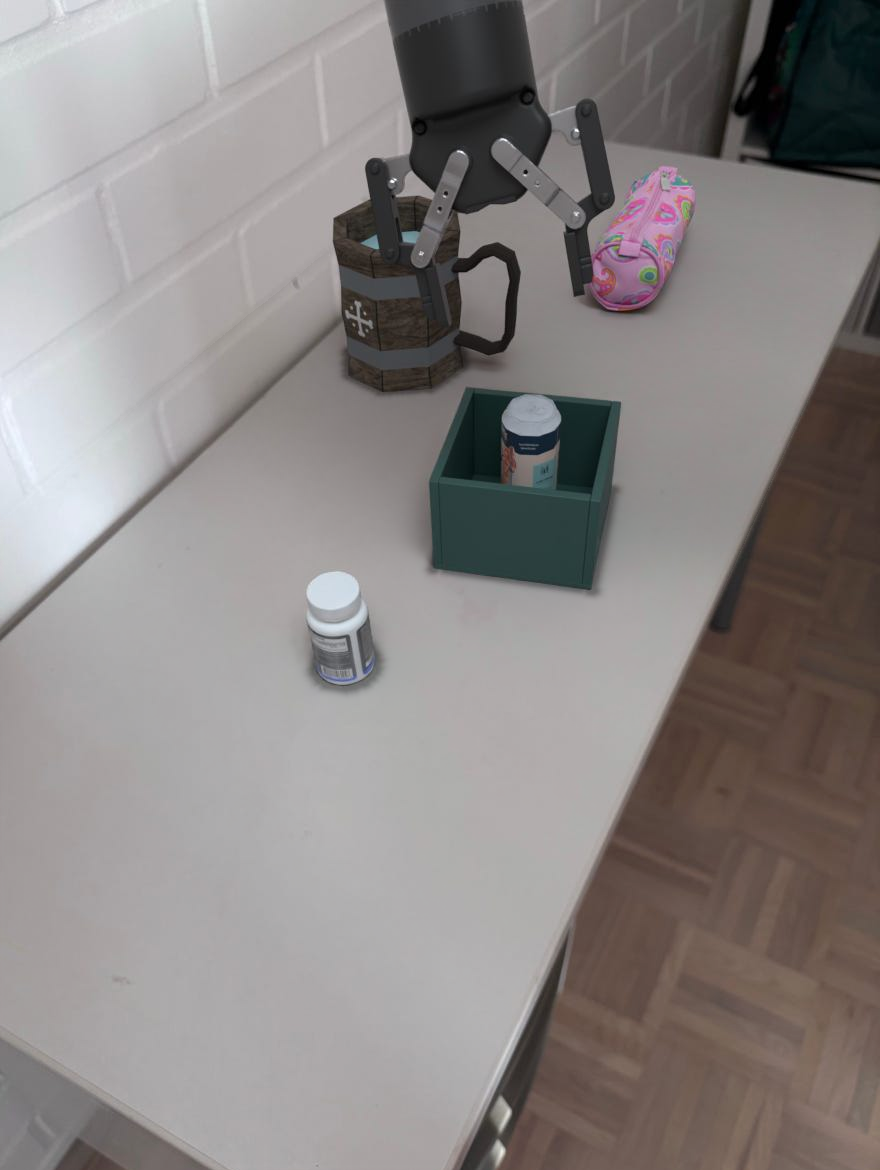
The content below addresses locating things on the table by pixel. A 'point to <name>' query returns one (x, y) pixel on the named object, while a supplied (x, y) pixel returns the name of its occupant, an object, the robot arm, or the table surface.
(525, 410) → the beer can
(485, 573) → the bin
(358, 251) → the mug
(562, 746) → the table surface
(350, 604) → the pill bottle
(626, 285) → the pencil case
